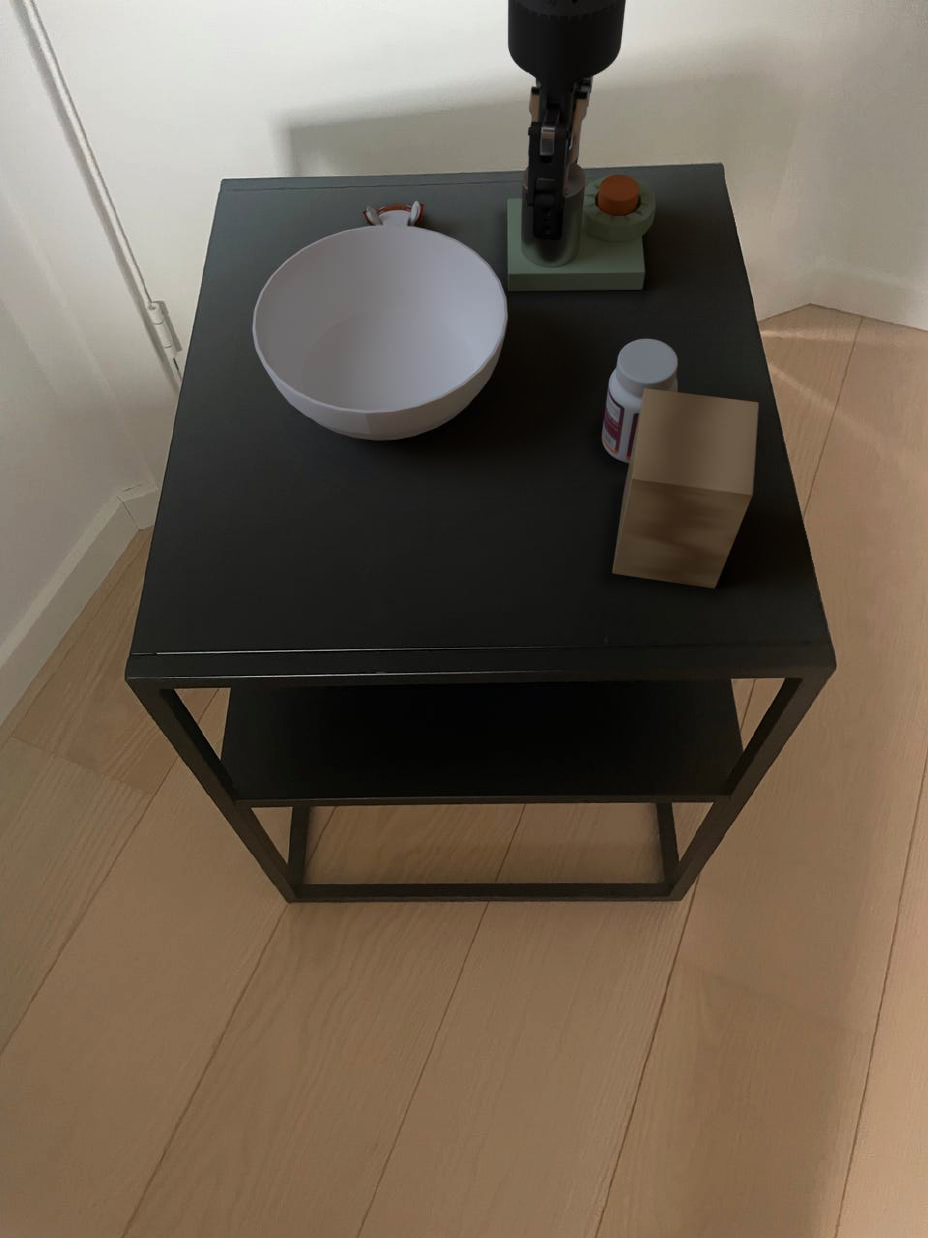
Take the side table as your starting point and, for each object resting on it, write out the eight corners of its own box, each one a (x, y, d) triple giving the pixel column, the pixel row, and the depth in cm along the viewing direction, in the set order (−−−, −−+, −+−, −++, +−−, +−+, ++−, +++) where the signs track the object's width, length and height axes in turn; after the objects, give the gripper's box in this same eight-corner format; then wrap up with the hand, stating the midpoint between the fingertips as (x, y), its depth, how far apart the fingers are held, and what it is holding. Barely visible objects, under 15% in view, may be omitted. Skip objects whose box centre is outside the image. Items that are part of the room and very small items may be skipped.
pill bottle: (674, 426, 72) (694, 345, 64) (652, 473, 70) (670, 396, 62) (614, 406, 73) (627, 325, 65) (591, 452, 71) (601, 374, 63)
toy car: (426, 209, 84) (424, 177, 81) (427, 274, 80) (425, 243, 77) (367, 212, 84) (362, 180, 81) (365, 277, 80) (360, 247, 77)
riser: (721, 505, 68) (759, 401, 58) (715, 589, 65) (753, 494, 55) (623, 491, 69) (644, 387, 59) (612, 573, 66) (631, 478, 56)
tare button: (635, 190, 79) (638, 173, 78) (638, 216, 78) (640, 200, 76) (596, 190, 79) (598, 174, 78) (598, 217, 78) (600, 201, 76)
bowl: (512, 299, 78) (513, 226, 72) (501, 482, 70) (502, 417, 63) (291, 294, 79) (273, 221, 73) (254, 473, 71) (230, 409, 64)
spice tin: (583, 229, 79) (589, 159, 73) (575, 270, 77) (581, 201, 71) (525, 223, 80) (527, 153, 74) (516, 264, 77) (517, 195, 72)
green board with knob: (646, 209, 83) (652, 174, 80) (655, 289, 78) (661, 255, 75) (507, 212, 83) (507, 176, 80) (507, 291, 79) (508, 257, 76)
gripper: (614, 47, 56) (592, 268, 70) (640, -82, 63) (615, 144, 77) (488, 38, 57) (491, 257, 71) (527, -89, 64) (523, 135, 78)
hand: (555, 198), depth 74 cm, fingers open, 8 cm apart
